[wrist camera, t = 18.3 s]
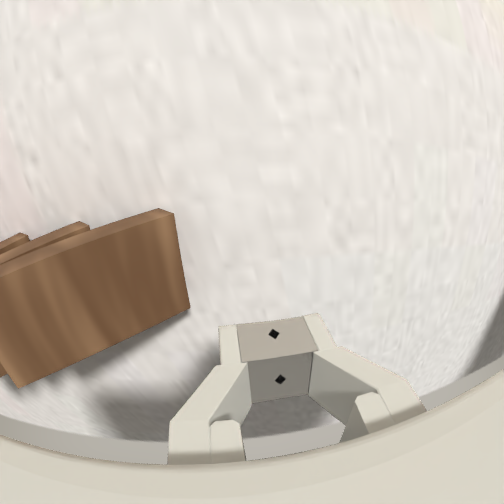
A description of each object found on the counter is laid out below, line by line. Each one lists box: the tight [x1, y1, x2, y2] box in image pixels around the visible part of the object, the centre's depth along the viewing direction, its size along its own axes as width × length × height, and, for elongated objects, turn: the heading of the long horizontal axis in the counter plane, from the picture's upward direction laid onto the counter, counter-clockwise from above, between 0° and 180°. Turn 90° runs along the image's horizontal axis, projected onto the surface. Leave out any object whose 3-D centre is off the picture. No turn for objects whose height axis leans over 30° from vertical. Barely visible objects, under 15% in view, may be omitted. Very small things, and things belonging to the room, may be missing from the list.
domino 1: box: [0, 208, 190, 388], centre depth 11 cm, size 2×5×10 cm
